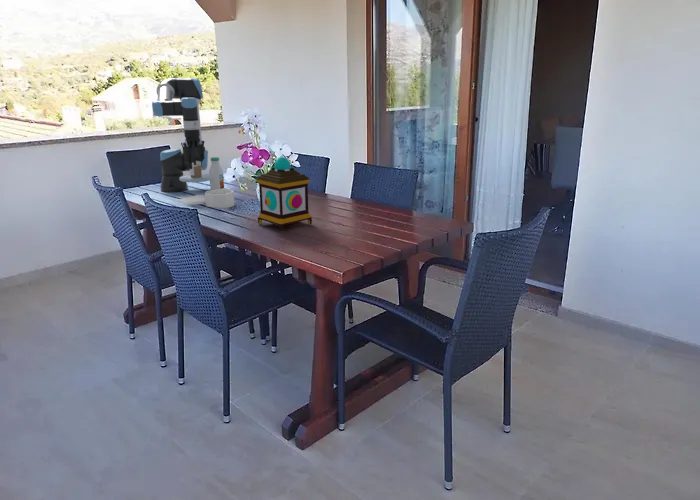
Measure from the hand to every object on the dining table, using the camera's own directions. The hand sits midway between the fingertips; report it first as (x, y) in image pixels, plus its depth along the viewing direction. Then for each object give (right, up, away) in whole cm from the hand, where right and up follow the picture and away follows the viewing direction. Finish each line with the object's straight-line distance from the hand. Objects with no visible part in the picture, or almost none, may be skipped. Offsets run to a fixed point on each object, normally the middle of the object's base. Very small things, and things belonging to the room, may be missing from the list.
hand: (195, 174), depth 266 cm
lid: (0, -2, +1) cm, 3 cm away
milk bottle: (+5, -7, +24) cm, 25 cm away
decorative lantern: (+52, -29, -41) cm, 73 cm away
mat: (0, -13, +4) cm, 14 cm away
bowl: (+15, -17, -6) cm, 23 cm away
